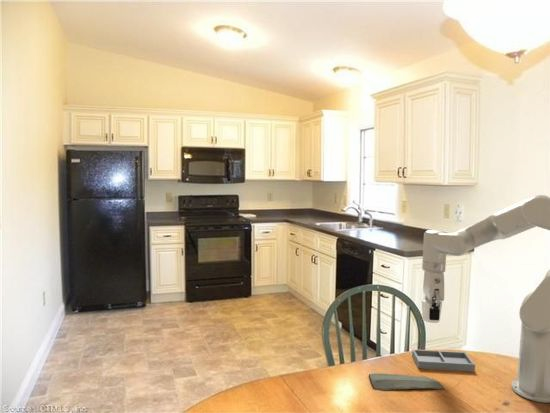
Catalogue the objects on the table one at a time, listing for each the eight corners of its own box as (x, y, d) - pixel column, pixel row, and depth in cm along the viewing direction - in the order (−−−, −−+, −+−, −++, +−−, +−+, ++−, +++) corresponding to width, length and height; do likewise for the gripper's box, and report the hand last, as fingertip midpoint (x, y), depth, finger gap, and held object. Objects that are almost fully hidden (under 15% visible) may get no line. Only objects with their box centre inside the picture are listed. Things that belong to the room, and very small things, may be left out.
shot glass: (443, 319, 147) (444, 299, 147) (439, 325, 142) (440, 304, 141) (423, 315, 151) (424, 296, 151) (418, 320, 145) (419, 301, 145)
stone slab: (366, 379, 139) (374, 391, 129) (366, 371, 139) (374, 382, 129) (433, 380, 139) (446, 393, 129) (433, 372, 139) (446, 383, 129)
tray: (412, 355, 153) (412, 349, 153) (464, 358, 151) (465, 352, 151) (418, 368, 144) (418, 361, 143) (474, 371, 142) (475, 364, 142)
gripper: (453, 272, 136) (450, 325, 137) (437, 260, 153) (435, 308, 155) (429, 271, 136) (426, 324, 138) (416, 260, 154) (414, 307, 155)
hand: (431, 315), depth 146 cm, fingers closed on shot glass, 6 cm apart
